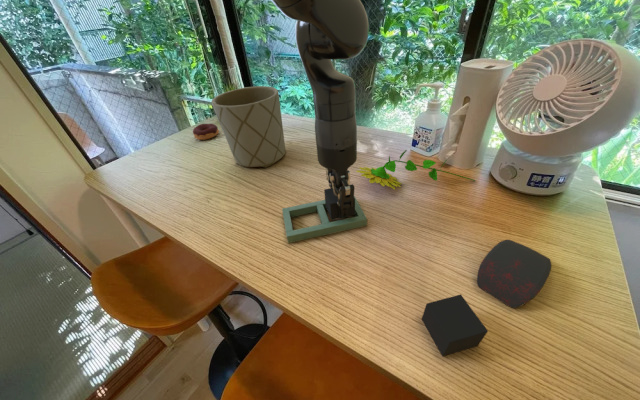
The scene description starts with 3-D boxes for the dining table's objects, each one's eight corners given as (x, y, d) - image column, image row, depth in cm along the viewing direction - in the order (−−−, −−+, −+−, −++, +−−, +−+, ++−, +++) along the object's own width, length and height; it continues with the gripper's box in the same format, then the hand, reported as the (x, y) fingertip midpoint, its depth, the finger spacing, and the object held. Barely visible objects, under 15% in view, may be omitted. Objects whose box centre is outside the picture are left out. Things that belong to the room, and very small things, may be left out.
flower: (454, 189, 73) (353, 164, 71) (469, 161, 69) (362, 134, 67) (474, 210, 62) (356, 181, 60) (494, 178, 58) (368, 146, 56)
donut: (214, 140, 99) (210, 131, 97) (190, 141, 101) (186, 132, 98) (223, 130, 107) (220, 121, 105) (201, 131, 108) (198, 122, 106)
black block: (477, 346, 35) (488, 331, 32) (442, 356, 35) (449, 342, 32) (453, 310, 39) (460, 294, 37) (421, 319, 39) (426, 303, 36)
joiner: (367, 225, 55) (367, 218, 54) (288, 243, 53) (286, 236, 52) (353, 200, 63) (353, 193, 62) (283, 214, 61) (282, 208, 60)
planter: (298, 146, 89) (289, 86, 77) (271, 175, 75) (254, 107, 63) (253, 141, 95) (237, 85, 83) (220, 167, 82) (196, 105, 69)
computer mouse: (468, 281, 43) (475, 266, 40) (503, 239, 49) (510, 224, 47) (523, 315, 38) (534, 301, 35) (554, 264, 44) (565, 248, 42)
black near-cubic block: (355, 214, 55) (355, 198, 53) (331, 220, 55) (330, 204, 52) (347, 200, 60) (347, 184, 57) (325, 205, 59) (324, 189, 56)
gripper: (309, 127, 52) (316, 193, 62) (325, 160, 41) (331, 234, 51) (344, 121, 53) (346, 187, 63) (370, 151, 41) (367, 226, 52)
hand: (339, 208), depth 57 cm, fingers closed on black near-cubic block, 5 cm apart
